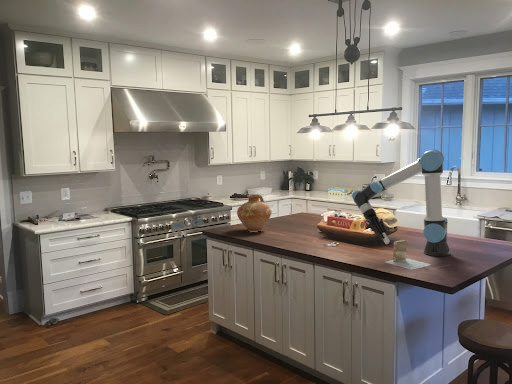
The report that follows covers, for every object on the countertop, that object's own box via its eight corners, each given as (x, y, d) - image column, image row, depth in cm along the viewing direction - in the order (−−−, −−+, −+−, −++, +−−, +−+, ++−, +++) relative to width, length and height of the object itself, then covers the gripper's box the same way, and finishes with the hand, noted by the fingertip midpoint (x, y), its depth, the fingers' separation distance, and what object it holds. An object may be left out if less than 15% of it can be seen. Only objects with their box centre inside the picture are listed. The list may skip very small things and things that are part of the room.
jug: (230, 232, 361) (229, 195, 358) (251, 226, 383) (250, 192, 380) (258, 236, 344) (257, 197, 341) (278, 230, 366) (278, 193, 363)
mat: (383, 262, 261) (383, 261, 261) (403, 258, 270) (403, 257, 270) (411, 270, 244) (411, 269, 244) (431, 265, 253) (432, 264, 253)
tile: (393, 261, 260) (393, 241, 259) (402, 259, 265) (402, 239, 263) (396, 262, 258) (397, 242, 257) (406, 260, 262) (406, 240, 261)
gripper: (372, 214, 286) (392, 244, 273) (357, 216, 279) (376, 247, 267) (378, 207, 280) (399, 237, 268) (363, 208, 274) (383, 240, 261)
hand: (388, 242), depth 267 cm, fingers closed
